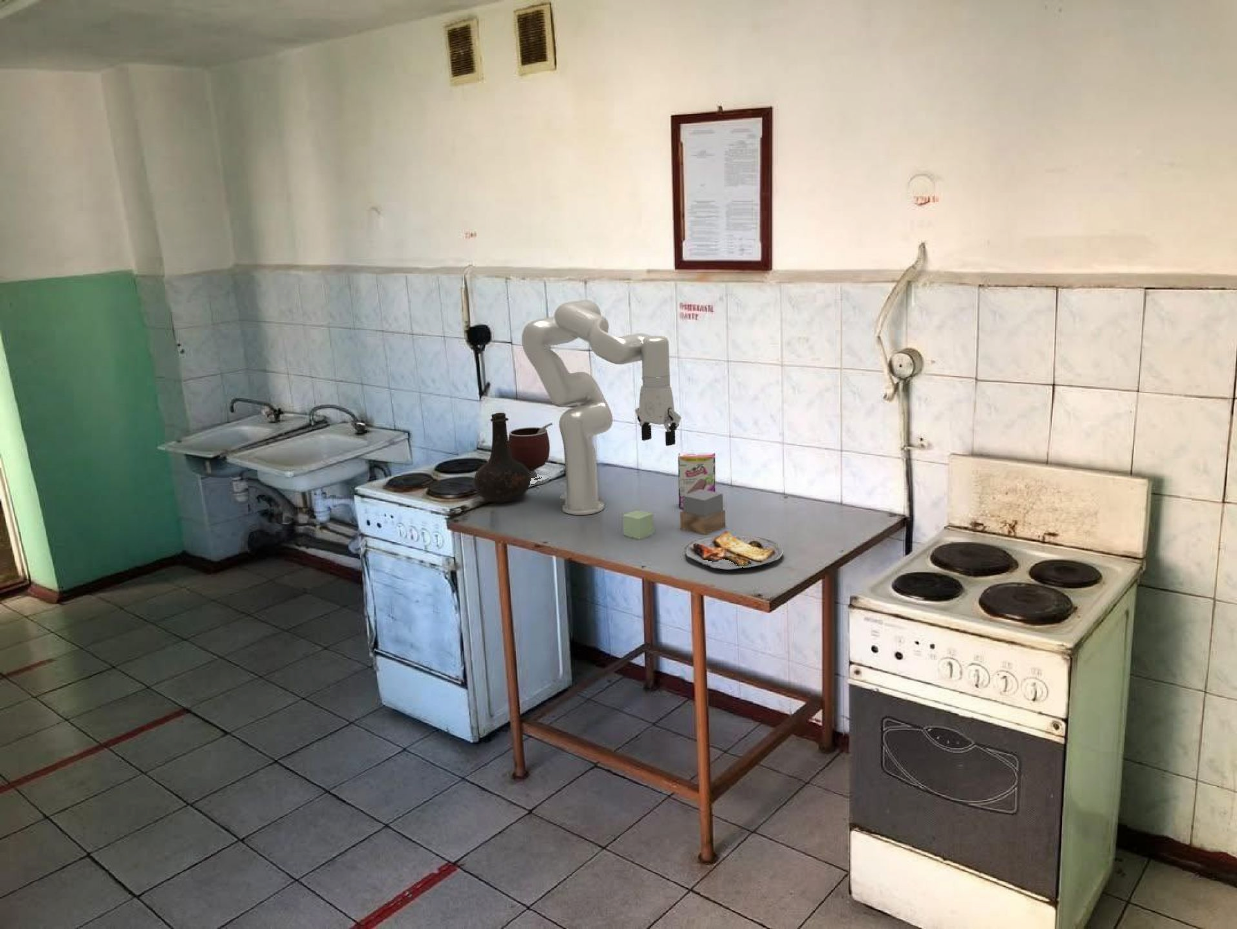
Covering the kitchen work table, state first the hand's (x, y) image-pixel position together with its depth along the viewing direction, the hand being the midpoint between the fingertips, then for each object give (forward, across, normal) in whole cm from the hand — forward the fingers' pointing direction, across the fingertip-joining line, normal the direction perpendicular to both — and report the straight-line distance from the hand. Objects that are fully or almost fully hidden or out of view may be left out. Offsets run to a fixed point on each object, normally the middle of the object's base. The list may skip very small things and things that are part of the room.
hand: (658, 442), depth 279 cm
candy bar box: (+25, -6, +21) cm, 33 cm away
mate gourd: (+25, -70, +6) cm, 75 cm away
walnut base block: (+25, +9, +8) cm, 28 cm away
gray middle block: (+20, +9, +8) cm, 23 cm away
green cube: (+25, 0, -8) cm, 26 cm away
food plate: (+25, +32, -4) cm, 41 cm away
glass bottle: (+25, -59, -14) cm, 66 cm away
